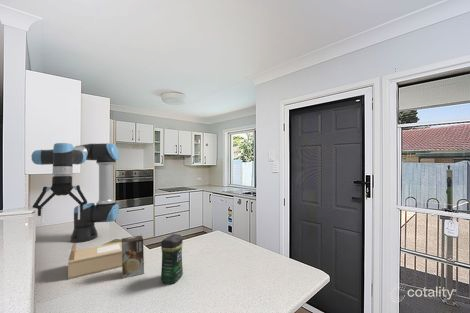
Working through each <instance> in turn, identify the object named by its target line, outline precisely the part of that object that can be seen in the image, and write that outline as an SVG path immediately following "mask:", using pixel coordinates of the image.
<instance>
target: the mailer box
mask: <svg viewBox="0 0 470 313" xmlns="http://www.w3.org/2000/svg"><path fill="white" fill-rule="evenodd" d="M118 268H122V252H120V253H116V254H111V255H106V256H101V257H96V258H92V259H87V260H82V261H77V262H72V263H68V262H67V280H68V281H69V280H72V279H77V278H80V277H85V276H89V275H94V274H97V273H102V272H105V271H111V270H115V269H118Z"/></svg>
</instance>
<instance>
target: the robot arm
mask: <svg viewBox="0 0 470 313" xmlns="http://www.w3.org/2000/svg"><path fill="white" fill-rule="evenodd" d="M119 156H120V152H119V149H118V146H117V145H116V144H114V143H109V142H108V143H107V142H106V143H86V144H80V145H76V146H74V145H73V144H72V143H66V142H56V143H54V144H53V149H38V150H37V149H36V150H34V151H33V152H32V154H31V162H32V163H33V164H35V165H42V166H43V165H52V180H51V186H43V187H42V191H41V193H40V194H39V196H38V197H37V199H36V200H35V202H34V203H33V205H32V208H33V209H37V216H38V217H40V225H42V224H44V223H45V208H44V207H45V205H46V204H47V203H49V201H51V199H53V198H54V197H55V196H58V197H60V196H67V195H68V196H70V198H72V199H73V200H74V201H75V202H76V203H77V204H78V205H77V206H75V207H74V209H73V230H72V233H71V236H70V242H71V243H83V242H89V241H92V240H94V239H97V238H98V232H97V231H98V230H97V228H96V226H95V225H96V224H95V223H109V222H115V220H116V219H117V218H118V216H119V211H120V205H119V204H117V202H116V200H115V199H114V165H115V164H116V163H117V162H116V161H118V160H119V159H120V158H119ZM86 161H96V165H98V200H97V202H96V203H95V202H88V200H87V199H86V197H85V195H84V193H83V192H82V190H81V187H80V184H76V185H73V176H72V175H73V165H81V164H84V163H85V162H86ZM73 189H74V190H75V191H76V192H77V193H78V194H79V197H80V198H79V197H77V196H76V195H75V194H74V193H73V192H72V191H73ZM49 190H50V191H52V193H51V194H50V195H49V196H48V197H47V198H46V199H45V200H43V198H44V196H45V195H46V193H47V192H49ZM80 199H81V200H82V201H81V200H80ZM42 200H43V202H42V203H41V201H42ZM39 204H40V205H39Z"/></svg>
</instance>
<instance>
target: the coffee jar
mask: <svg viewBox="0 0 470 313" xmlns="http://www.w3.org/2000/svg"><path fill="white" fill-rule="evenodd" d="M160 246H161V247H160V248H161V271H160V273H161V274H160V280H161V282H162V283H164V284H174V283H176V282H177V281H179V280H180V279H181V278H182V276H183V275H184V272H183V269H184V268H183V236H182V235H181V234H177V233H176V234H175V233H172V234H170V235H169V236H167V237H165V238H164V239H162V240H161V245H160Z"/></svg>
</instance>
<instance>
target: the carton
mask: <svg viewBox="0 0 470 313" xmlns="http://www.w3.org/2000/svg"><path fill="white" fill-rule="evenodd" d="M117 242H122V238H115V239H112V240H110V241H108V242H106V243H104V244H102V245H106V244H112V243H117Z"/></svg>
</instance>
